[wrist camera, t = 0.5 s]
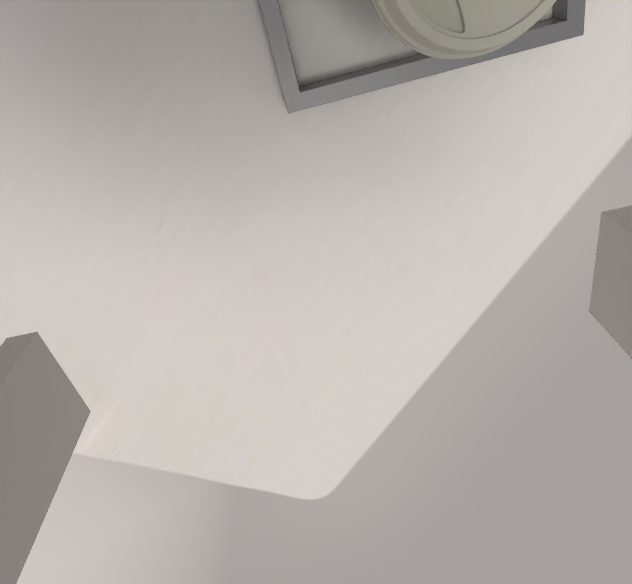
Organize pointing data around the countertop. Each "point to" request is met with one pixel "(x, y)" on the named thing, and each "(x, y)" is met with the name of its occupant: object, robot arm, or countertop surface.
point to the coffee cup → (459, 24)
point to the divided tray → (407, 69)
